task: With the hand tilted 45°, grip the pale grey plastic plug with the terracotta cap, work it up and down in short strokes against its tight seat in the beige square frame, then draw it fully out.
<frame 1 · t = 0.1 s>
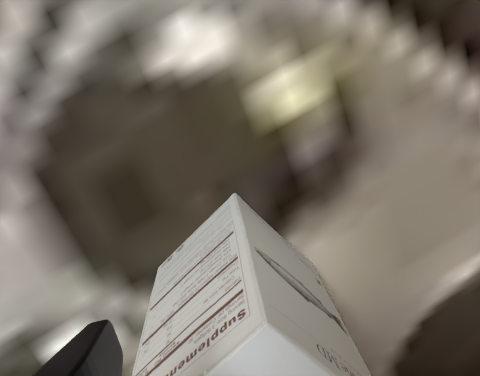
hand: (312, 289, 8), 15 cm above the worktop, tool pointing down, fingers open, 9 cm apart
supplement box: (234, 261, 25), on the worktop
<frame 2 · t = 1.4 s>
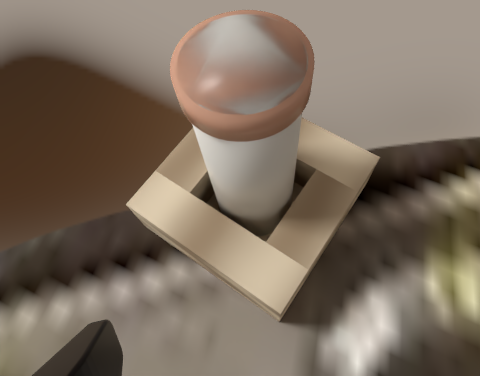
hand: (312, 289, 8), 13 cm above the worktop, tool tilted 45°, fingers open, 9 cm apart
plug: (250, 152, 18), point 6 cm above the worktop, slide at 0.0 cm
beige square frame: (255, 205, 24), on the worktop
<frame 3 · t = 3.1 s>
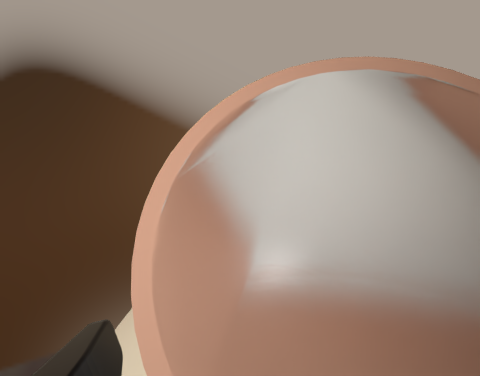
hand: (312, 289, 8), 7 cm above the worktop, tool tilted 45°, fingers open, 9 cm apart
plug: (315, 321, 9), point 7 cm above the worktop, slide at 0.0 cm
beige square frame: (298, 340, 15), on the worktop
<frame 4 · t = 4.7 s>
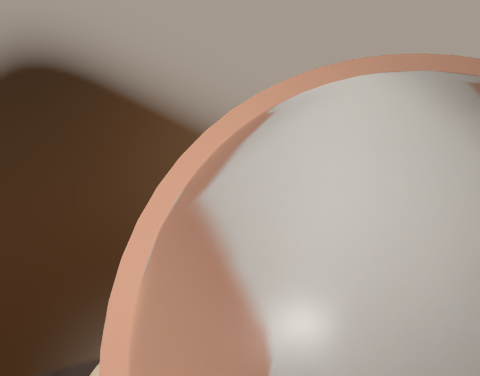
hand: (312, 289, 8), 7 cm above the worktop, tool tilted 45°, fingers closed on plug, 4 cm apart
plug: (331, 356, 8), point 6 cm above the worktop, slide at 0.0 cm, touching gripper, beige square frame
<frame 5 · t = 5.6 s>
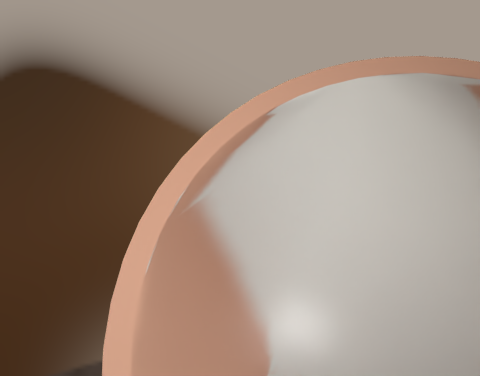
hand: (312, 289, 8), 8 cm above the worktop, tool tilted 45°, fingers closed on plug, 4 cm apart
plug: (330, 354, 8), point 8 cm above the worktop, slide at 1.7 cm, touching gripper
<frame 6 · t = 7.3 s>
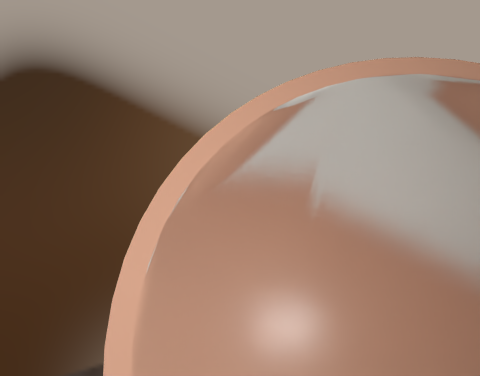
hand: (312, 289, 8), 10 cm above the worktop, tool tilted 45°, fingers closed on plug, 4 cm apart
plug: (329, 353, 8), point 10 cm above the worktop, slide at 3.2 cm, touching gripper
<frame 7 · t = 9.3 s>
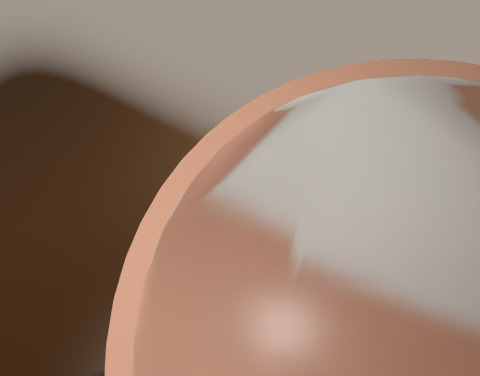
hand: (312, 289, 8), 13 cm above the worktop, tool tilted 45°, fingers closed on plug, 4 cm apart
plug: (329, 353, 8), point 13 cm above the worktop, slide at 6.7 cm, touching gripper
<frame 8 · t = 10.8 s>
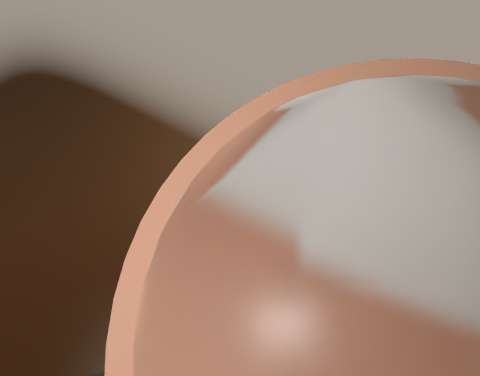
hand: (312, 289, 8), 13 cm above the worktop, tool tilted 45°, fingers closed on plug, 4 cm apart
plug: (329, 353, 8), point 13 cm above the worktop, slide at 6.7 cm, touching gripper
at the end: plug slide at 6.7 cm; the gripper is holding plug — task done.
